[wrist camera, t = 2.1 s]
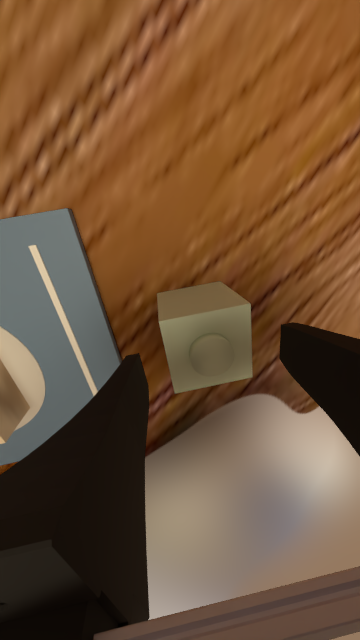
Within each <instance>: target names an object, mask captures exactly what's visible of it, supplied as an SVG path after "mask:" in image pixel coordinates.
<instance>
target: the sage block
mask: <svg viewBox="0 0 360 640" xmlns="http://www.w3.org/2000/svg"><path fill="white" fill-rule="evenodd" d="M157 302H158V318H159V325H160V330H161V334H162V338H163V343H164V347H165V352H166V356H167V361H168V365H169V370H170V374H171V379H172V383H173V388H174V392H175V394H176V393H181V392H185V391H190V390H195V389H199V388H204V387H209V386H213V385H218V384H223V383H227V382H232V381H237V380H242V379H246V378H251V377H252V337H251V303H249V302H248V301H247V300H245V299H244V298H243V297H241V296H240V295H239V294H237V293H236V292H234V291H233V290H232V289H230V288H229V287H228V286H226V285H225V284H223V283H222V282H221V281H219V282H213V283H208V284H203V285H198V286H192V287H187V288H182V289H177V290H171V291H166V292H161V293H157Z"/></svg>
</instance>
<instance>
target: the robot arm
mask: <svg viewBox="0 0 360 640" xmlns="http://www.w3.org/2000/svg"><path fill="white" fill-rule="evenodd" d="M280 360H281V362H282V363H283V365H284V366H285V368H286V369H287V370H288V372H289V373H290V374H291V376H292V377H293V378H294V379H295V380H296V381H297V382H298V383H299V384H300V386H301V387H302V388H303V389H304V390H305V391H306V392H307V393H308V394H309V395H310V396H311V397H312V398H313V399H314V401H315V402H316V403H317V404H318V405H319V406H320V407H321V408H322V409H323V410H324V411H325V412H326V414H328V416H329V417H330V418H331V419H332V420H333V421H334V423H335V424H336V426H337V427H338V428H339V429H340V431H341V432H342V433H343V435H344V436H345V437H346V438H347V440H348V441H349V442H350V444H351V445H352V447H353V448H354V449H355V451H356V452H357V453H358V455H359V456H360V339H357V338H353V337H349V336H345V335H341V334H338V333H334V332H330V331H326V330H323V329H319V328H315V327H312V326H308V325H304V324H299V323H288V324H283V325H281V338H280ZM148 413H149V389H148V383H147V379H146V376H145V372H144V369H143V366H142V362H141V359H140V355H139V353H138V354H133V355H128V356H126V357H125V358H124V360H123V361H122V362H121V364H120V365H119V366H118V368H117V369H116V370H115V372H114V373H113V374H112V375H111V377H110V378H109V379H108V380H107V382H106V383H105V384H104V385H103V386H102V388H101V389H100V390H99V391H98V392H97V393H96V394H95V396H94V397H93V398H92V399H91V400H90V401H89V402H88V403H87V404H86V405H85V406H84V407H83V408H82V409H81V410H80V411H79V412H78V413H77V414H76V415H75V416H74V417H73V418H72V419H71V420H70V421H69V422H68V423H66V424H65V425H64V426H63V427H62V428H60V429H59V430H58V431H57V432H56V433H55V434H53V435H52V436H51V437H50V438H49V439H48V440H46V441H45V442H44V443H43V444H41V445H40V446H39V447H38V448H36V449H35V450H34V451H32V452H31V453H30V454H29V455H27V456H26V457H25V458H23V459H22V460H20V461H19V462H18V463H16V464H15V465H14V466H12V467H11V468H10V469H8V470H7V471H5V472H4V473H2V474H1V475H0V640H330V639H334V638H337V637H341V636H345V635H348V634H352V633H356V632H359V631H360V566H359V567H355V568H352V569H348V570H343V571H340V572H336V573H332V574H328V575H324V576H320V577H316V578H312V579H308V580H304V581H300V582H296V583H293V584H289V585H285V586H281V587H277V588H273V589H269V590H266V591H261V592H258V593H254V594H250V595H246V596H242V597H238V598H234V599H230V600H226V601H222V602H218V603H214V604H210V605H207V606H202V607H199V608H195V609H191V610H187V611H183V612H180V613H175V614H171V615H167V616H163V617H160V618H156V619H152V620H148V619H149V601H148V581H147V580H148V579H147V556H146V525H145V524H146V523H145V448H146V436H147V425H148Z"/></svg>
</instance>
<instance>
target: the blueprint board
mask: <svg viewBox="0 0 360 640" xmlns="http://www.w3.org/2000/svg"><path fill="white" fill-rule="evenodd" d="M121 362H122V360H121V357H120V354H119V351H118V348H117V345H116V342H115V339H114V336H113V333H112V330H111V327H110V324H109V321H108V318H107V315H106V312H105V309H104V306H103V303H102V300H101V297H100V294H99V291H98V288H97V285H96V282H95V279H94V276H93V273H92V270H91V267H90V264H89V261H88V258H87V255H86V252H85V249H84V246H83V243H82V240H81V237H80V234H79V231H78V228H77V225H76V222H75V219H74V216H73V213H72V210H71V209H68V208H66V209H60V210H54V211H48V212H42V213H36V214H30V215H24V216H18V217H12V218H6V219H0V465H4V464H9V463H13V462H18V461H20V460H22V459H23V458H25V457H26V456H27V455H29V454H30V453H31V452H32V451H34V450H35V449H36V448H38V447H39V446H40V445H41V444H43V443H44V442H45V441H46V440H48V439H49V438H50V437H51V436H52V435H53V434H55V433H56V432H57V431H58V430H59V429H60V428H62V427H63V426H64V425H65V424H66V423H68V422H69V421H70V420H71V419H72V418H73V417H74V416H75V415H76V414H77V413H78V412H79V411H80V410H81V409H82V408H83V407H84V406H85V405H86V404H87V403H88V402H89V401H90V400H91V399H92V398H93V397H94V396H95V394H96V393H97V392H98V391H99V390H100V389H101V388H102V386H103V385H104V384H105V383H106V382H107V380H108V379H109V378H110V377H111V375H112V374H113V373H114V372H115V370H116V369H117V368H118V366H119V365H120V364H121Z"/></svg>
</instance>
